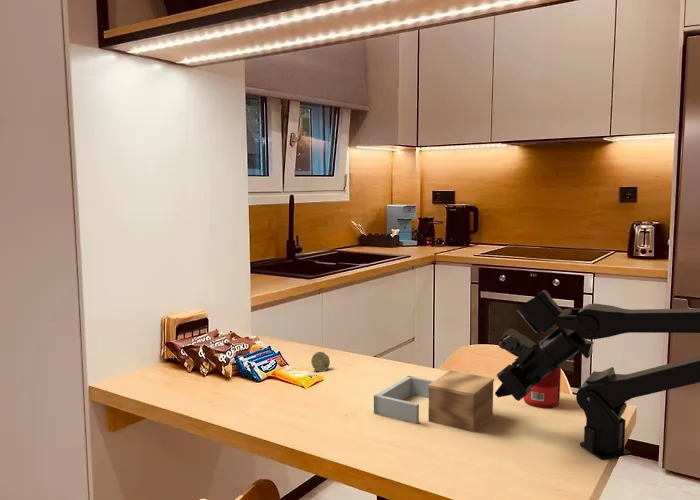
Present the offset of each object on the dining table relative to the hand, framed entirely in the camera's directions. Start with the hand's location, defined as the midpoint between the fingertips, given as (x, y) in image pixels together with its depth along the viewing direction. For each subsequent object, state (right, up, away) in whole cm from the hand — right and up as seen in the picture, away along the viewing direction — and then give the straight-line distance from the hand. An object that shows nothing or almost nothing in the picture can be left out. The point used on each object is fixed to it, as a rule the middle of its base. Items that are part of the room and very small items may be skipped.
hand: (496, 394), depth 125 cm
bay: (-16, -5, +12) cm, 21 cm away
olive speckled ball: (-38, -3, +38) cm, 54 cm away
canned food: (+14, -5, +14) cm, 20 cm away
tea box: (-6, -6, +5) cm, 10 cm away
